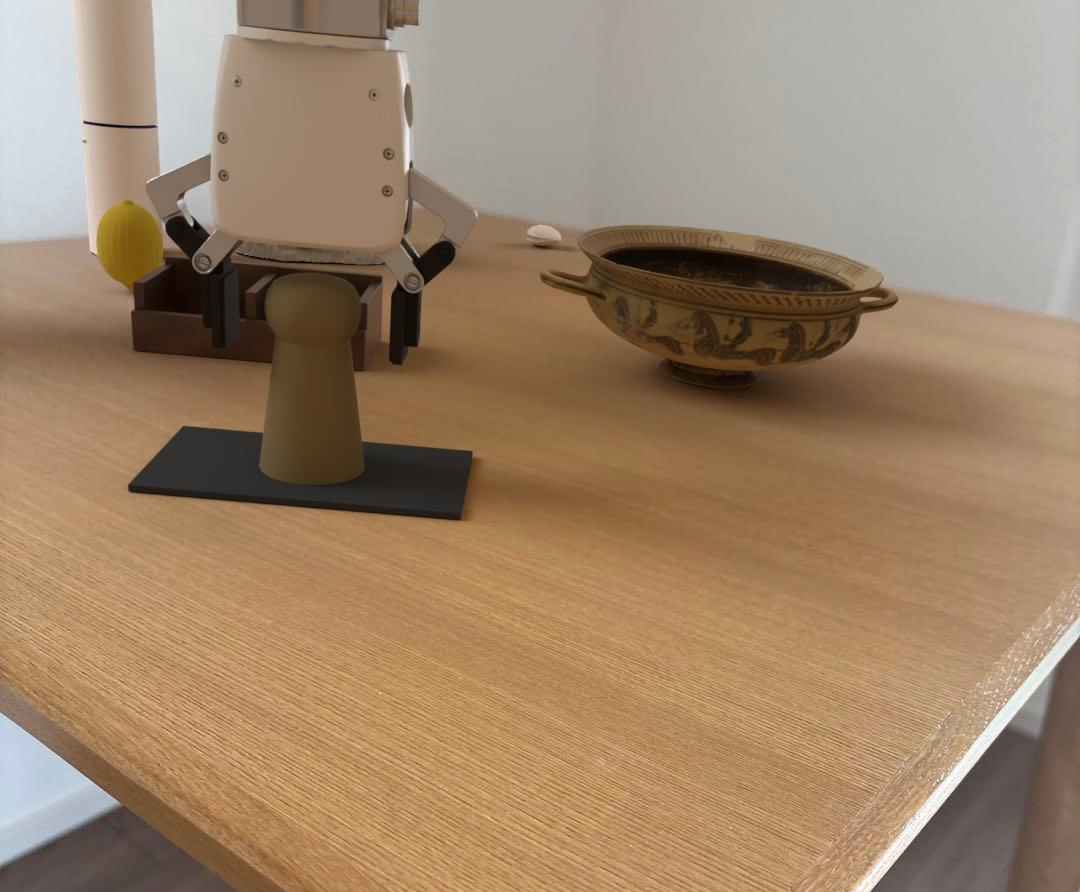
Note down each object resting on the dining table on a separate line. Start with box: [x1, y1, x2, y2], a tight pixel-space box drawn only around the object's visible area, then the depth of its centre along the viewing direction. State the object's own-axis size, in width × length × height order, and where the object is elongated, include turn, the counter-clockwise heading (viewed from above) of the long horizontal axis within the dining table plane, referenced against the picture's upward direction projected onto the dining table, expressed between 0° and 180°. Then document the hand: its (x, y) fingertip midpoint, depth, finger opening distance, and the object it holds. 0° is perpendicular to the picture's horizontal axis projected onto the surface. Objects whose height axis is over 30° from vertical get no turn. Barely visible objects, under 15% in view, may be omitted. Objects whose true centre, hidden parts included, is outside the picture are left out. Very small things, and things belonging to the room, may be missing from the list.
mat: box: [127, 425, 474, 520], centre depth 66 cm, size 18×10×1 cm, turn 89°
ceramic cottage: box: [235, 241, 385, 265], centre depth 122 cm, size 16×16×15 cm
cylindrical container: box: [71, 0, 165, 254], centre depth 111 cm, size 7×7×25 cm
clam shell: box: [526, 224, 562, 247], centre depth 140 cm, size 4×5×2 cm
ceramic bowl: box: [539, 224, 899, 390], centre depth 91 cm, size 30×24×10 cm
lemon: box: [96, 199, 164, 292], centre depth 100 cm, size 6×6×8 cm
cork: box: [259, 273, 365, 485], centre depth 63 cm, size 6×6×11 cm
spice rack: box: [130, 254, 384, 372], centre depth 88 cm, size 17×9×6 cm, turn 89°
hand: (312, 350), depth 63 cm, fingers open, 9 cm apart
